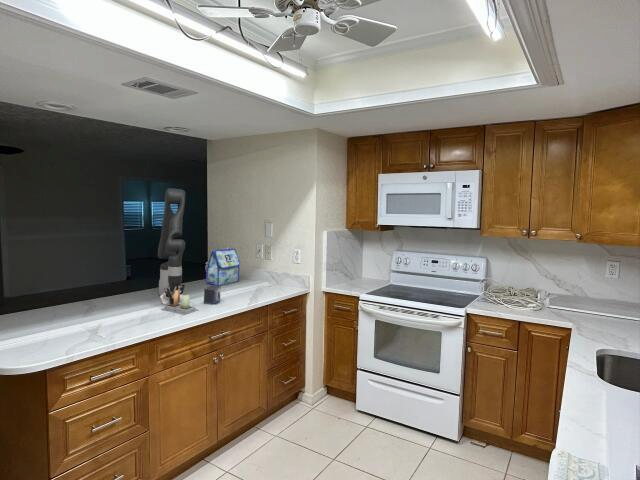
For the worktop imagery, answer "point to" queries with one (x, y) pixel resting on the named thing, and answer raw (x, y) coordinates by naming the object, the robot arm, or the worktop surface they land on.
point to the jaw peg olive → (185, 301)
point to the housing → (179, 309)
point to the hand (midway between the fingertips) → (174, 303)
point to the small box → (212, 295)
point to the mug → (167, 298)
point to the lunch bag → (223, 267)
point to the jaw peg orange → (175, 298)
